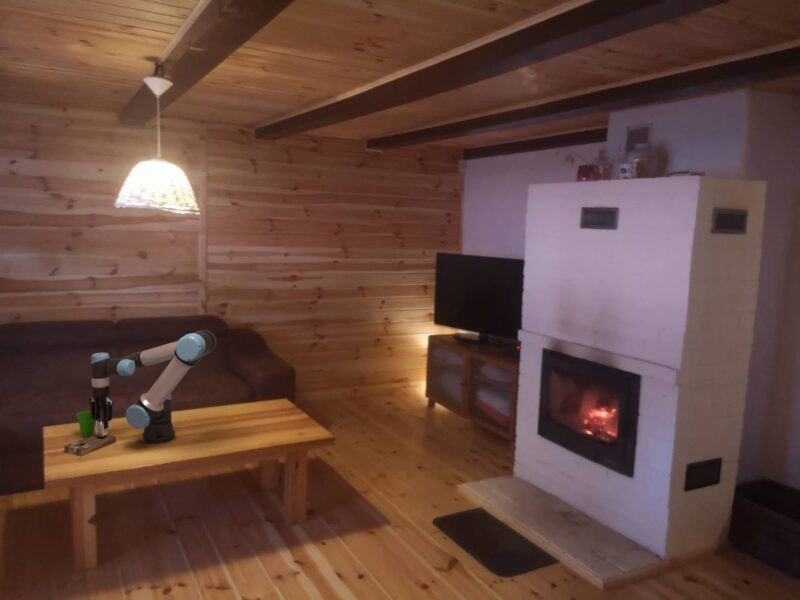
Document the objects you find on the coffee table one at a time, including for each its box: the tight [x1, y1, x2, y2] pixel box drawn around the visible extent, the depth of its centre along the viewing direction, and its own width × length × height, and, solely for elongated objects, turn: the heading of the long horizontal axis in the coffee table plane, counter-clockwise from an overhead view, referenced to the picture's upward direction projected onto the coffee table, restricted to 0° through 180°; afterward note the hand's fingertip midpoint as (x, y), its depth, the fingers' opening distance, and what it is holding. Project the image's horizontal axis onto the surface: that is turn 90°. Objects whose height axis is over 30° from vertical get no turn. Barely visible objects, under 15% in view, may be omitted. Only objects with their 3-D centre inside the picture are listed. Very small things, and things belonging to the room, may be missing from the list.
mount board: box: [63, 433, 117, 457], centre depth 293 cm, size 10×20×3 cm, turn 158°
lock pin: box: [98, 416, 105, 439], centre depth 298 cm, size 3×3×12 cm
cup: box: [76, 410, 96, 438], centre depth 308 cm, size 9×9×11 cm
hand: (101, 434), depth 298 cm, fingers closed on lock pin, 3 cm apart
